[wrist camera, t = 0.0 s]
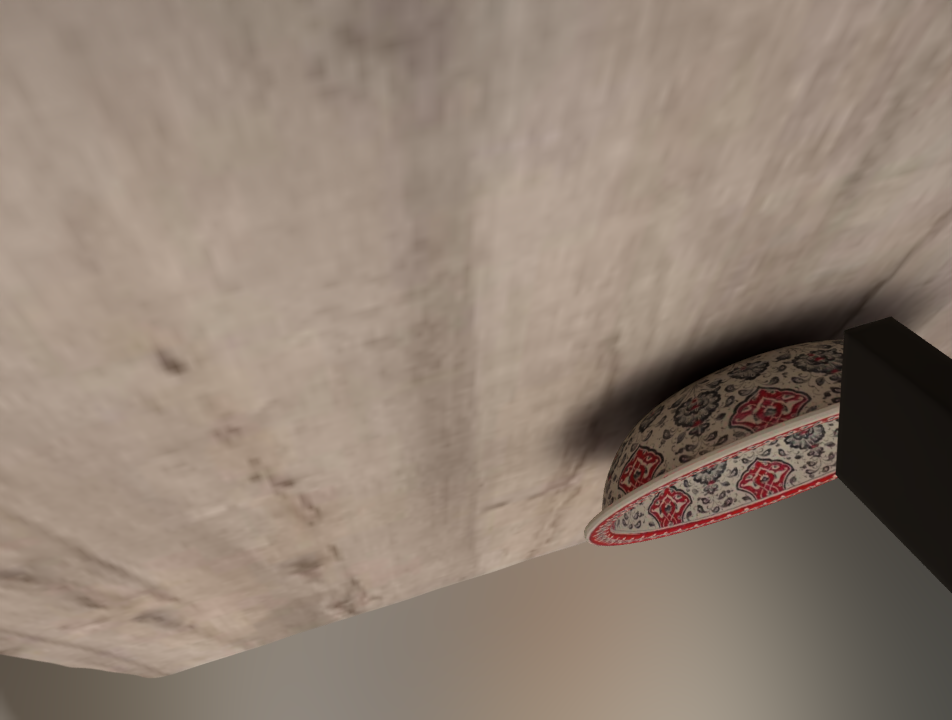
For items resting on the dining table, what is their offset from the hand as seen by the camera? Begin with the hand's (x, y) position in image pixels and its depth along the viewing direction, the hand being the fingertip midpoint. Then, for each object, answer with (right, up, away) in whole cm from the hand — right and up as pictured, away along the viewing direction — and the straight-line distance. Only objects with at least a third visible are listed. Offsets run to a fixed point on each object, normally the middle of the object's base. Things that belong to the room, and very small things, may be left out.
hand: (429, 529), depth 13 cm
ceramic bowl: (+20, +1, +55) cm, 59 cm away
